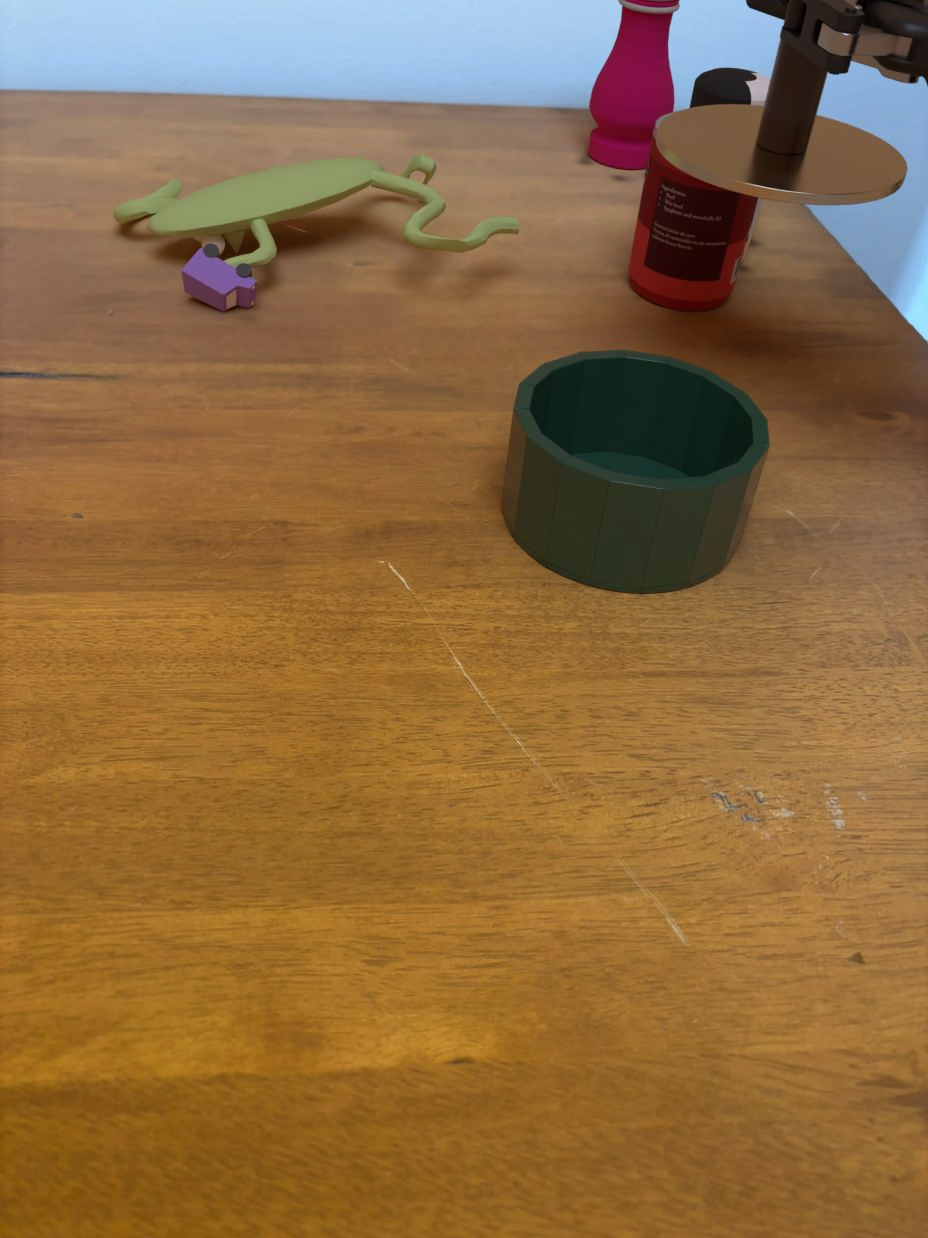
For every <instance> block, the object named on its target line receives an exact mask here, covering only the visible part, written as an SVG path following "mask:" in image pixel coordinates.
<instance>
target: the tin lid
mask: <svg viewBox="0 0 928 1238" xmlns="http://www.w3.org/2000/svg"><path fill="white" fill-rule="evenodd" d="M777 47H778V48H777V50H776V55H775V59H774V65H773V67H772V72H771V75H770V84H769V88H768V92H767V96H766V101H765V105H764V106H760V105H745V104H719V105H706V106H699V107H693V108H685V109H681V110H678V111H674V112H675V113H673V114H671V115H669V116H667V117H666V118H665V119H664V120H662V122H661V123H660V124H659V127H658V130H657V136H656V145H657V148H658V150H659V152H660V153H661V154H662V155H663V157H664V158H665V159H666V160H668V161H669V162H670V163H671V164H672V165H674V166H675V167H677V168H678V169H680V170H682V171H683V172H685V173H687V174H689V175H691V176H693V177H695V178H697V179H700V180H702V181H704V182H707V183H709V184H712V185H715V186H717V187H720V188H723V189H727V190H730V191H733V192H737V193H741V194H745V195H749V196H753V197H758V198H762V199H763V200H768V201H772V202H773V201H774V202H781V203H787V204H788V203H789V204H797V205H808V206H810V205H811V206H852V205H859V204H866V203H870V202H876V201H879V200H882V199H885V198H888V197H889V196H891V195H893V194H896V192H898V191H899V190H900V189H901V188H902V186H903V184H904V182H905V180H906V176H907V173H908V164H907V161H906V159H905V157H904V155H902V154H901V152H900V151H899V150H897V148H896V147H894V146H893V145H891V144H890V143H889V142H887V141H886V140H884V139H882V138H880V137H879V136H876V135H875V134H873V133H871V132H869V131H867V130H864V129H862V128H860V127H857V126H854V125H852V124H849V123H846V122H843V121H840V120H837V119H834V118H830V117H828V116H827V117H826V116H823V115H819V114H818V111H819V107H820V103H821V100H822V96H823V92H824V88H825V84H826V81H827V77H828V74H829V73H828V72H827V71H825V70H823V69H822V68H820V67H819V66H817V65H816V64H815V63H813V62H812V61H811V60H809V59H808V58H807V57H805V56H804V55H802V54H801V53H800V52H798V51H797V50H796V49H794V48H793V47H792V46H790V45H789V44H787V43H786V42H785V41H783V40H782V39H781V38H780V37H779V42H778V46H777Z"/></svg>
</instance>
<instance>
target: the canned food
mask: <svg viewBox="0 0 928 1238" xmlns="http://www.w3.org/2000/svg"><path fill="white" fill-rule="evenodd" d="M675 112H676V111H673V113H675ZM673 113H669V114H666V115H663V116H662V117H660V118H658V120H657V121H656V125H655V128H654V130H653V136H652V141H651V145H650V150H649V156H648V162H647V167H646V168H645V169H646V170H645V173H644V179H643V185H642V190H641V196H640V202H639V207H638V213H637V219H636V224H635V230H634V235H633V240H632V245H631V246H632V247H631V252H630V257H629V264H628V277H629V283H630V285H631V287H632V288H633V290H634V291H635V292H636V293H637V294H638V295H639V296H640V297H642V298H643V299H645V300H647V301H649V302H651V303H653V304H656V305H658V306H660V307H665V308H669V309H673V310H679V311H687V312H688V311H689V312H700V311H706V310H707V311H709V310H712V309H714V308H717V307H719V306H721V305H723V304H724V303H725V302H726V301H727V300H728V299H729V297H730V296H731V294H732V292H733V290H734V288H735V285H736V282H737V279H738V275H739V274H738V273H739V269H740V266H741V263H742V262H741V259H742V255H743V251H744V247H745V243H746V239H747V235H748V231H749V227H750V223H751V219H752V215H753V212H754V208H755V204H756V200H757V197H753V196H749V195H745V194H741V193H737V192H733V191H730V190H727V189H723V188H720V187H717V186H715V185H712V184H709V183H707V182H704V181H702V180H700V179H697V178H695V177H693V176H691V175H689V174H687V173H685V172H683V171H682V170H680V169H678V168H677V167H675V166H674V165H672V164H671V163H670V162H669V161H668V160H666V159H665V158H664V157H663V155H662V154H661V153H660V152H659V150H658V148H657V145H656V136H657V130H658V127H659V124H660V123H661V122H662V120H664V119H665V118H666V117H667V116H669V115H671V114H673ZM740 262H741V263H740Z"/></svg>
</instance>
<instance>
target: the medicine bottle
mask: <svg viewBox="0 0 928 1238" xmlns="http://www.w3.org/2000/svg"><path fill="white" fill-rule="evenodd" d="M770 80H771V78H768V77H767V76H765V75H763V74H762V73H760V72H756V71H754V70H750V69H745V68H738V67H717V68H713V69H709V70H707V71H703V72H701V73H700V74H699V75H698V76H696V77H695V79H694V83H693V88H692V92H691V98H690V101H689V103H690V104H689V108H693V107H699V106H706V105H719V104H745V105H760V106H764V105H765V101H766V96H767V92H768V88H769V84H770ZM763 200H764V199H762V198H758V197H757V200H756V204H755V208H754V212H753V215H752V219H751V223H750V227H749V231H748V235H747V239H746V243H745V247H744V251H743V255H742V259H741V262H740V264H741V263H743V261H744V260H745V257H746V255H747V252H748V249H749V247H750V244H751V241H752V239H753V236H754V233H755V230H756V227H757V223H758V219H759V215H760V211H761V207H762V203H763Z"/></svg>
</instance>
